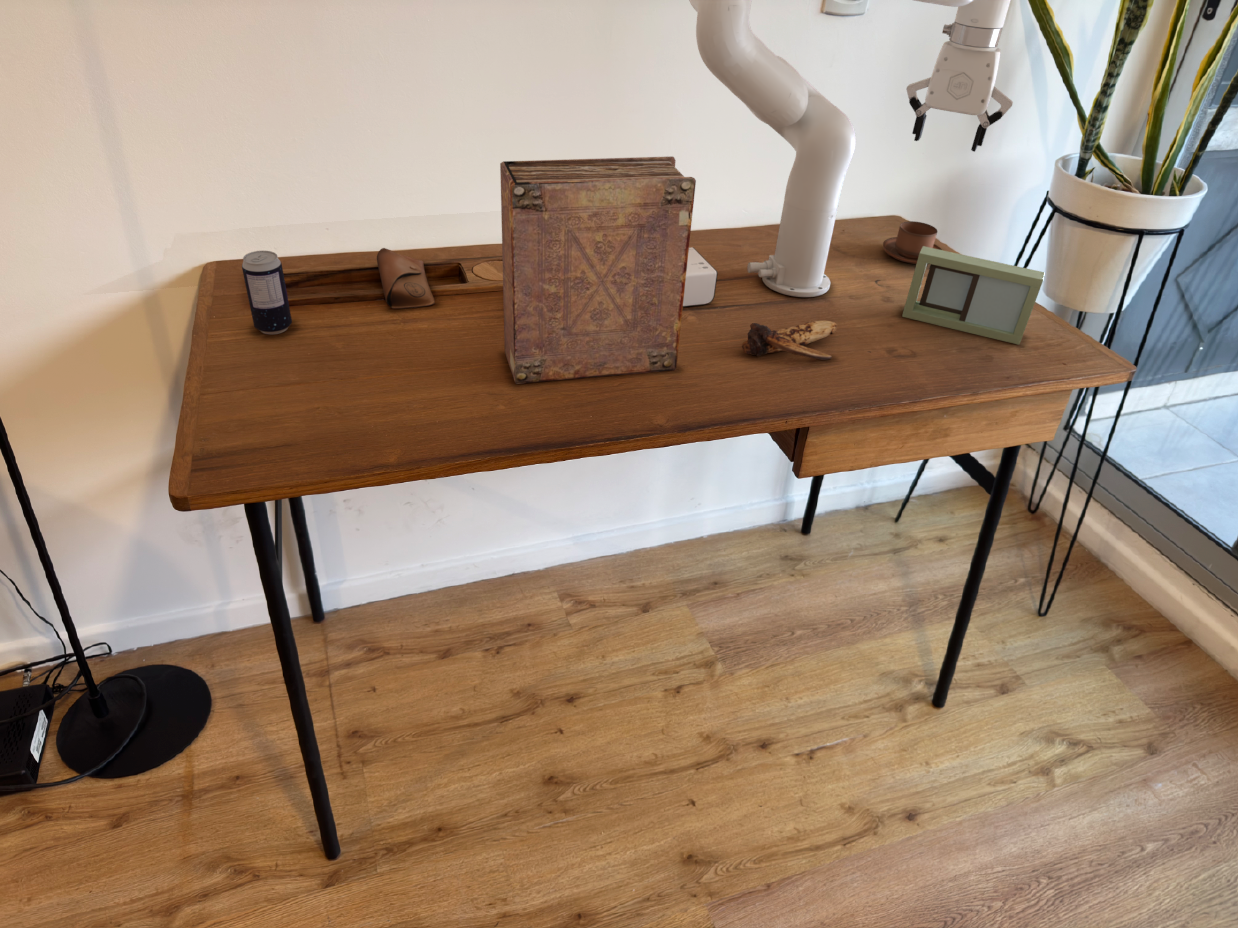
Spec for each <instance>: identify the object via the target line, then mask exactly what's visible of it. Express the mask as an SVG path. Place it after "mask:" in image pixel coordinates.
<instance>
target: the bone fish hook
mask: <svg viewBox="0 0 1238 928" xmlns="http://www.w3.org/2000/svg"><path fill="white" fill-rule="evenodd" d="M749 327H750V329H749V330H748V332H747V340H745V341H744V342H743V343H742V344H741V348H742V351H743V353H745V354H747V355H754V356H757V357H760V356H764V355H766V354H772V353H778V352H783V351H784V352H786V353H791V354H793V355H795V356H800V357H805V358H809V359H813V360H821V361H825V360H827V361H828V360H830V359H832V358H833V357H832V355H830V354H827V353H825V352H822V351H820V350H816V349H813V348H810V347H807V345H808V344H811V343H814V342H817V341H819V340H822V339H824V338H827V337H830V335H834V334H835V333H837V332H836V331H837V327H838V325H837V323H836V322H835V321H831V320H823V319H822V320H815V321H810V322H809V321H808V322H804V323H801V324H796V325H793V326H791V327H786V328H781V329H777V330H776V329H771V328H769V327H768V326H767V325H765V324H760V323H757V322H752V323H750V325H749Z"/></svg>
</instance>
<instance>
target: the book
mask: <svg viewBox="0 0 1238 928" xmlns="http://www.w3.org/2000/svg"><path fill="white" fill-rule="evenodd" d="M676 162H677V161H676V158H675V157H674V156H673V155H672V156H639V157H638V156H637V157H608V158H605V157H604V158H573V159H572V158H570V159H541V160H539V159H538V160H508V161H507V160H505V161H501V162H500V164H499V167H500V169H499V170H500V212H501V216H500V217H501V251H502V292H503V293H502V295H503V297H502V298H503V337H504V338H503V339H504V340H503V342H504V355H505V357H506V360H507V363H508V366H509V368H510V371H511V374H512V378H513V380H514V383H515V385H519V384H531V383H543V382H556V381H565V380H566V381H567V380H579V379H590V378H598V377H599V378H600V377H612V376H624V375H635V374H636V375H637V374H649V373H659V372H661V373H662V372H670V371H672V372H673V371H676V369H677V366H678V357H679V347H680V336H681V329H682V328H681V327H682V319H683V317H682V316H683V309H684V307H683V300H684V290H685V280H686V271H687V261H688V252H689V248H690V240H691V231H692V223H693V212H694V202H695V194H696V183H697V180H696V178H695V177H693V176H684V175H683V174H682V173H681V172H680V171H679V170H678V169H677V168H676Z"/></svg>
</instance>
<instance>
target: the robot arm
mask: <svg viewBox="0 0 1238 928" xmlns="http://www.w3.org/2000/svg"><path fill="white" fill-rule="evenodd" d="M688 1H689V2H690V5H691V7H692V8H693V10H695V12H696V13H697V14H696V15H697V16H696V26H695V37H696V45H697V49H698V53H699V55H700V58H701V60H702V62H703V64H704V65H705V66H706V68H707V69H708V71H709V72H710V73H711V74H712V75H713V76H714V77H715V78H716V79H717V80H718V81H719V82H720V83H722V85H724V86H725V88H727V89H728V90H729V91H730V92H731V93H732V94H733V95H734V96H735V97H736V98H737V99H739V100H740V101H741V102H742V103H743V104H744V105H745V106H746V108H747V109H748V110H749V111H750V112H751V113H752V114H753V115H754V116H755V117H756V118H757V119H758V120H759V121H761V122H762V123H764V124H766V125H768V126H769V127H770V128H772V129H773V130H774V131H775V132H776V133H777V134H778V135H779V136H781V137H782V138H783V140H785V141H786V142H787V143H788V144H790V146H791V147H792V148H793V149H794V151H795V156H794V157H795V158H794V161H793V164H792V167H791V170H790V172H789V175H788V178H787V181H786V182H787V183H786V187H785V191H784V197H783V204H782V210H781V216H780V222H779V228H778V232H777V233H778V234H777V238H776V245H775V250H774V254H770V255H769V256H768V260H764V261H763V262H758V261H756V262H755V261H754V262H752V261H751V262H748V263H747V266H746V267H747V269H746V270H747V273H748V274H758V277H759V278H762V279H761V281H762V282H763V284H764V285H765V286H766V287H767V288H769V290H772V291H774V292H776V293H779V294H782V295H786V296H791V297H796V298H813V297H814V298H815V297H819V296H822V295H824V294H825V293H827V292H828V291H829V290H830V287H831V280H830V278H829V276H828V275H826V274H825V270H826V266H827V261H828V256H829V253H830V247H831V242H832V237H833V232H834V228H835V223H836V218H837V213H838V209H839V204H840V198H841V195H842V190H843V186H844V182H845V179H846V176H847V173H848V170H849V167H850V165H851V162H852V159H853V156H854V154H855V150H856V143H857V138H856V137H857V136H856V135H857V134H856V131H855V130H856V129H855V127H854V125H853V123H852V121H851V119H850V117H848V115H847V114H845V113H844V112H843V111H842V110H841V109H840V108H838V107H837V106H836V105H834V103H832V102H831V100H829V99H828V98H826V96H825V95H824V94H822V93H821V92H820V91H818V89H816V88H815V87H814V85H812V84H811V83H810V82H809V81H808V80H807V79H806V78H805V77H804V76H802V75H801V73H800V72H799V71H798V70H797V69H796V67H794V66H793V65H792V64H791V63H789V61H787V60H786V59H785V58H783V57H781V56H780V55H776V54H775V53H774V52H773V51H772V50H771V49H770V48H769V47H768V46H767V45H766V44H765V43H764V42H763V41H762V40H761V39H760V38H759V37H758V36H757V35H756V34H755V33H754V32H753V29H752V28H751V25H750V24H751V23H750V13H751V7H752V1H753V0H688ZM913 1H915V2H920V3H924V4H925V3H926V4H933V5H939V6H944V7H952V8H957V10H956V14H955V18H954V22H952V23H949V24H946V23H945V24H944V25H943V28H942V32H941V33H942V34H945V35H946V36H948V37H949V39H948V40H947V41H944V42H943V43H942V45H941V48H940V51H939V52H938V56H937V58H936V60H935V64H934V66H933V70H932V74H931V76H930V77H927V78H924V79H921V80H918V81H916V82H912V83H910V84H908V85H907V86H906V93H907V98H908V103H909V105H910V107H911V108H912V111H913V112H914V115H915V116H916V117H915V121H914V125H913V127H912V128H913V129H912V132H911V134H912V135H914V136H915V137H914V139H913V140H914V141H915V142H918V141H920V140H921V138H922V135H923V131H924V127H925V124H926V120H927V116H928V115H927V112H928V111H929V110H930V109H933V110H939V111H944V112H945V111H946V112H950V113H955V114H963V115H969V116H976V117H977V119H978V121H979V124H978V126H977V129H976V132H975V136H974V139H973V142H972V145H971V148H970V151H971V152H974V153H975V152H976V151H977V149H978V147H982V146H983V144H984V139H985V137H986V134H987V131H988V128H989V127H990V126H991V125H994V124H995V123H997V122H998V121H1000V120H1001V119H1002V118H1003V117H1004V115H1006V114H1007V112H1008V111H1009V110H1010V109H1011V108H1012V107H1013V104H1014V102H1013V100H1012V99H1011V98H1009V97H1008V96H1007V95H1005V94H1004V93H1003V92H1002V91H1001V90H1000V89H998V88H997V87H996V86H995V85H996V80H997V75H998V71H999V68H1000V67H999V66H1000V59H1001V48H999V47H998V45H999V43H1000V38H1001V34H1002V31H1003V27H1004V25H1005V22H1006V19H1007V14H1008V11H1009V8H1010V5H1011V1H1012V0H913ZM925 88H927V90H926V95H925V99H924V102H923V103H922V102H921V101H920V99H919V97H918V94H917V91H920V90H923V89H925ZM991 99H993V100H994V101H996V102H997V103H998V104H999V105H1000V107H999V108H998V109H997V110H996V111H995V112H993V113H992V114H989V111H988V110H987V109H988V107H989V105H990V103H991Z"/></svg>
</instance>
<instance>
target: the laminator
mask: <svg viewBox="0 0 1238 928" xmlns="http://www.w3.org/2000/svg"><path fill="white" fill-rule="evenodd" d="M718 273H719V272H718V270H717V269H716V268H715V267H714V266H713V265H712V264H711V263H710V262H709V261H708V260H707V259H706V258H705V257H704V256H703V255H702V254H701V253H700V252H699V251H698V250H697V249H696V248H695V247H693V246H692V247H689V252H688V261H687V271H686V280H685V290H684V300H683V308H691V307H701V306H707V305H710V304H711V303H712V302H713V301H714V299H715V296H716V289H717V282H718Z"/></svg>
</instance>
